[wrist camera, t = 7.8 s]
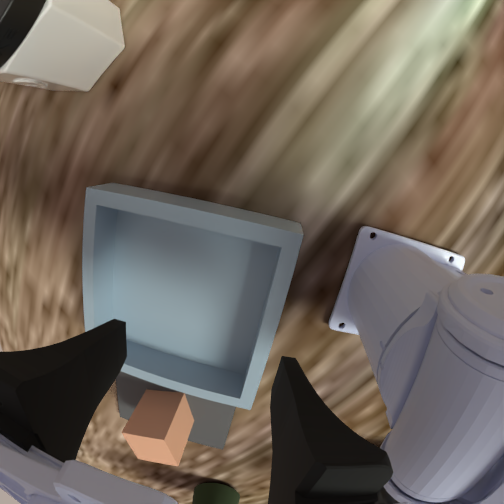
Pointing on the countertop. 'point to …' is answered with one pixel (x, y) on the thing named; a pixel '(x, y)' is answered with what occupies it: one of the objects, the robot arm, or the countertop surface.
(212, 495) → the character mug
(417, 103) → the countertop surface
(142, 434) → the block
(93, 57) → the jar
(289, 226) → the bin
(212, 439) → the mat
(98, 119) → the countertop surface
